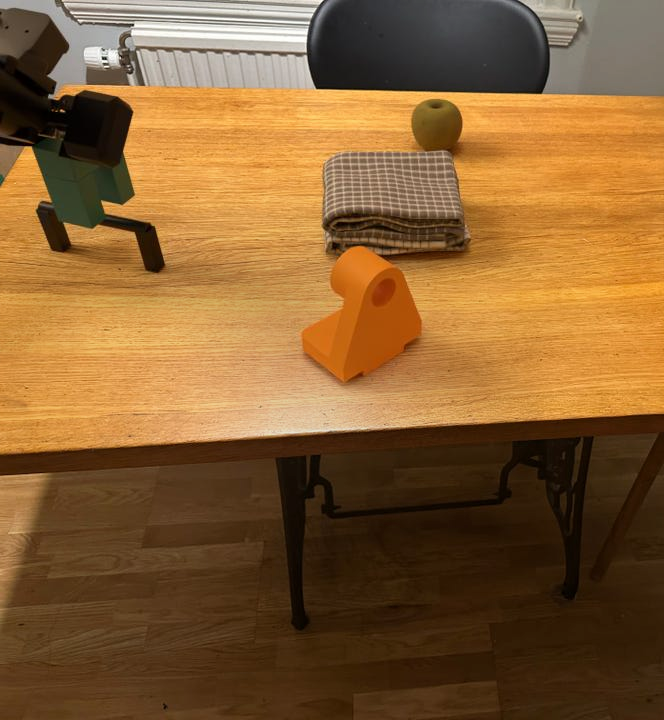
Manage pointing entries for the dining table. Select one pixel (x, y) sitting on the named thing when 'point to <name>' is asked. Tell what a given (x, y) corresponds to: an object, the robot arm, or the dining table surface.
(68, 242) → the dark pull handle
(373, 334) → the bracket
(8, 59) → the robot arm
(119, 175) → the dark green block
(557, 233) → the dining table surface
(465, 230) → the towel
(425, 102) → the apple
